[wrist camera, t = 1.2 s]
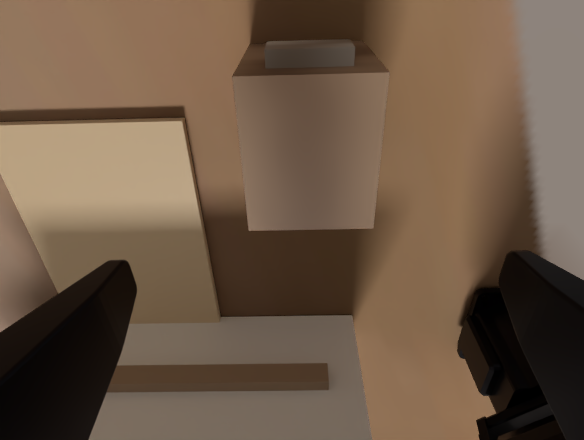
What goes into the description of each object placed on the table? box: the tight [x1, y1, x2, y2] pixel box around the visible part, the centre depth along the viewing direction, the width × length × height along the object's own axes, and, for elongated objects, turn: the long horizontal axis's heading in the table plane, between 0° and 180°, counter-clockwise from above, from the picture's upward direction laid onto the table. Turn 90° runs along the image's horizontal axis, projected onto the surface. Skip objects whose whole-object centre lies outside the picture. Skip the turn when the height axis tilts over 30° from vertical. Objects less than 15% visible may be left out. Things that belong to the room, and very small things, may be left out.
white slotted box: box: [0, 118, 372, 440], centre depth 20 cm, size 20×16×9 cm
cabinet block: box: [232, 39, 390, 231], centre depth 16 cm, size 5×7×6 cm
